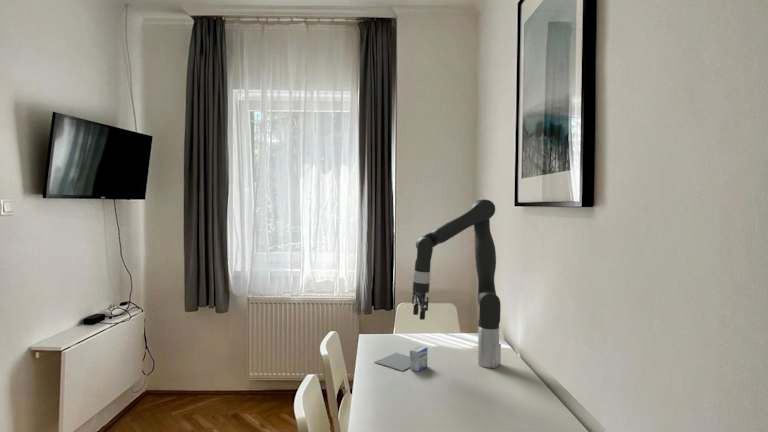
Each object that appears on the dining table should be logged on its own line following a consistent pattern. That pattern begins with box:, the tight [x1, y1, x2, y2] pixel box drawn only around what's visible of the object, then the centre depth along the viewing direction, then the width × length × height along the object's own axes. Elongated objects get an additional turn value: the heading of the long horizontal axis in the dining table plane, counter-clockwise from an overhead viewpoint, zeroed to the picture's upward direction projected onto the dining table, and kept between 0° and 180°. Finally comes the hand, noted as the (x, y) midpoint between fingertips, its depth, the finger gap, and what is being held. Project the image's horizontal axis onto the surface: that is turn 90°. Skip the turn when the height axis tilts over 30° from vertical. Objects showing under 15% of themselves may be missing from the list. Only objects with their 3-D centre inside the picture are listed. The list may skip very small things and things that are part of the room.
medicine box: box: [409, 345, 428, 373], centre depth 182 cm, size 8×4×9 cm, turn 143°
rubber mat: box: [374, 352, 410, 373], centre depth 189 cm, size 16×16×1 cm
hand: (418, 317), depth 185 cm, fingers open, 8 cm apart
